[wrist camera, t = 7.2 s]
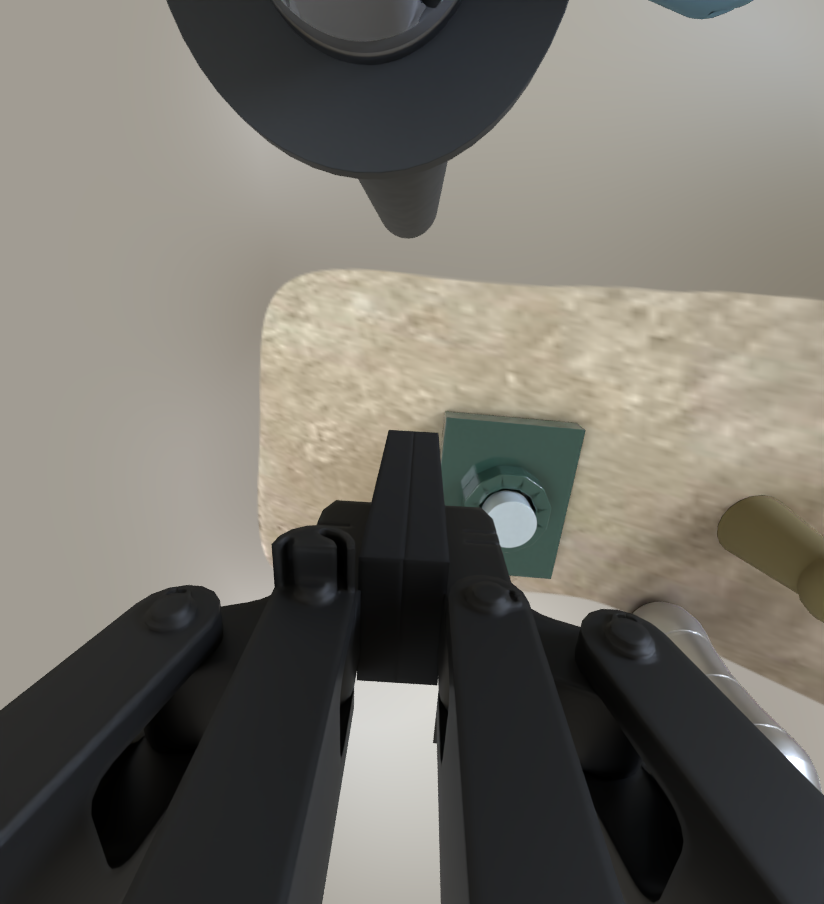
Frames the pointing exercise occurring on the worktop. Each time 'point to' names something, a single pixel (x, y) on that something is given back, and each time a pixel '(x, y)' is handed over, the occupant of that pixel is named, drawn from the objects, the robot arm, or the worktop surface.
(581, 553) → the worktop surface
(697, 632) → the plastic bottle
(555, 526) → the green button base
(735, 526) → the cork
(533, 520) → the white push button
